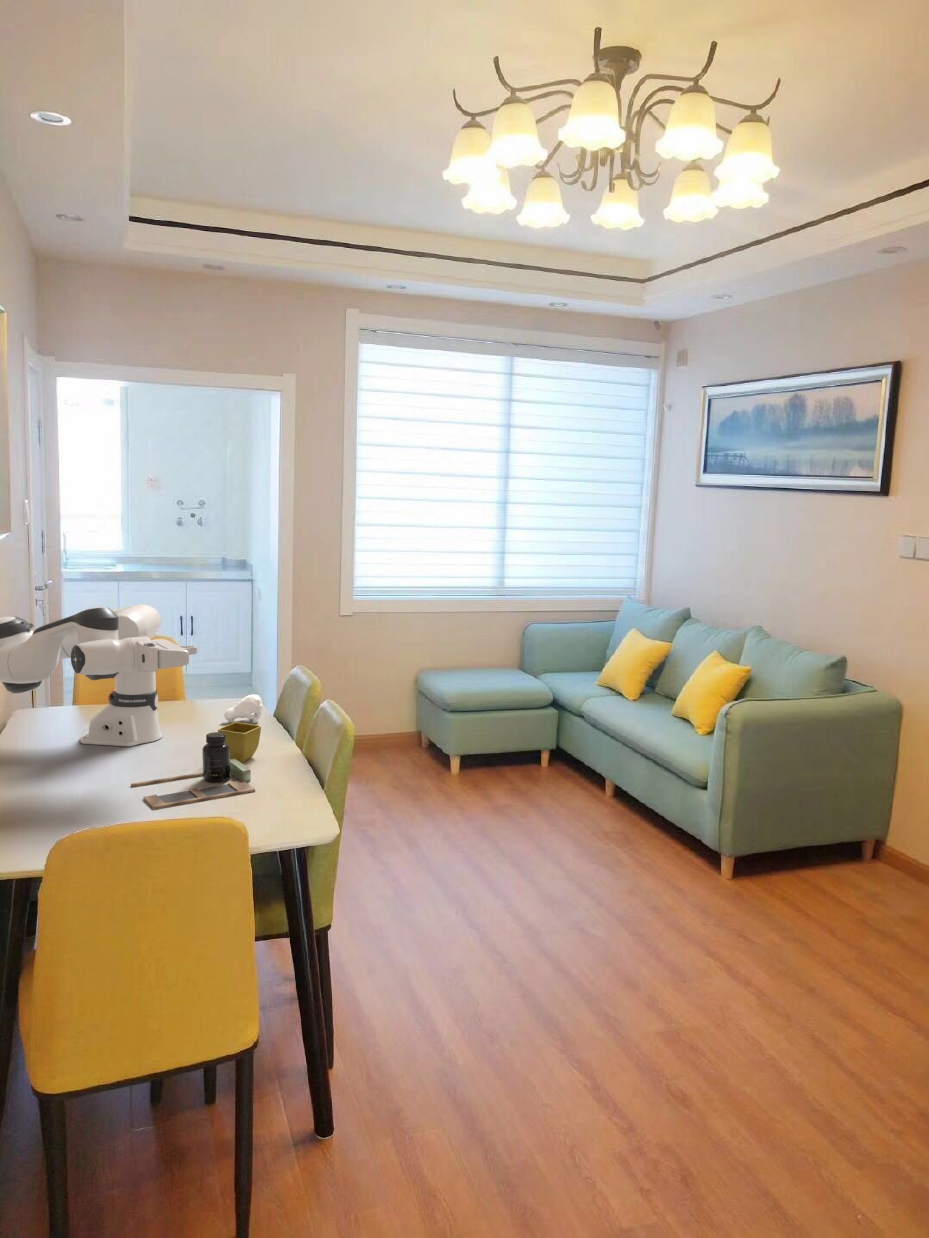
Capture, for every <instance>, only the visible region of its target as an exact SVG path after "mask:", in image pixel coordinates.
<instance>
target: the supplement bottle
mask: <svg viewBox="0 0 929 1238" xmlns="http://www.w3.org/2000/svg"><path fill="white" fill-rule="evenodd" d="M205 738H206V739H205V743H206V744H205V745H203V747H202V772H203V776H202V777H203V779H202V780H203V781H205V782H206V783H209V784H220V783H224V782H225V783H226V782H227V781H229V780H230V778H231V773H230V747H229V745H228V744H227V743H225V742H226V736H225V733H222V732H218V731H215V732H214V731H213V732H209V733H207V734H206V737H205Z"/></svg>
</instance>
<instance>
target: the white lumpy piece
mask: <svg viewBox="0 0 929 1238" xmlns="http://www.w3.org/2000/svg"><path fill="white" fill-rule="evenodd" d="M262 710H263V701H262V699H261V697H260V696H259V695H258V694H249V695H246V696H244V698H242V699H240V700H239V702H237V703H236V705H234V706H233V707H230V708H227V709H226V710H225V711H224V715H223V716H224V719H225V720H226V721H227V722H228V724H231V723H234V722H235V720H236V719H238V718H240V719H245V718H246V719H248V720H252V723H253V724H256V723H257V722H258V721H259V720H260V719H261V716H262ZM230 722H231V723H230Z"/></svg>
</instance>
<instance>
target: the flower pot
mask: <svg viewBox="0 0 929 1238" xmlns="http://www.w3.org/2000/svg"><path fill="white" fill-rule="evenodd" d="M261 730H262V725H257V724H250V723H244V722H237V721H234V722H233V723H232V722H231V723H228V724H227V725H225V726H222V727H220V728H218V729H217V732H222V733H225V736H226V742H225V743H227V744H228V745H229V747H230V759H236V760H238V761H239V762H240V763H242V762H245V761H247V760H249V759H252V757H253V756H254V754H255V753H256V751H257V749H258V747H259V744H260V738H261V732H262V731H261Z"/></svg>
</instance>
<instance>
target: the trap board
mask: <svg viewBox="0 0 929 1238" xmlns="http://www.w3.org/2000/svg"><path fill="white" fill-rule="evenodd" d="M230 774H232V775H233V776H234V777H236V778H237V779H238V780H237V781H231V782H227V784H221V785H216V786H209V787H204V788H198V787H194V788H193V787H192V788H189V789H188V790H186V791H184V790H183V791H179V792H172V793H167V794H161V795H157V794H152V795H146V796H143V800H144V801H145V802H146V803H147V805H148V806H149V807H150V808H152V810H159V809H165V808H168V807H174V806H182V805H187V804H191V803H192V804H193V803H197V802H203V801H210V800H214V799H220V798H226V797H231V796H239V795H243V794H248V793H247V792H250V793H253V791H255V792H256V789H255V787H253V786H252V785H250V784H249V783H248V782H251V781H252V780H251V776H252V775H251V769H250V768H248V766H246V765H244V764H243V763H242V762H240V761H238V760H236V759H230ZM197 777H198V778H199V777H203V771H202V772H196V773H191V774H189V773H188V774H183V775H178V776H171V777H165V778H159V779H158V778H157V779H152V780H145V781H140V782H132V783H130V786H131V788H135V786H136V787H142V786H147V785H154V784H161V783H167V782H173V781H179V780H186V779H191V778H197ZM141 785H142V786H141Z"/></svg>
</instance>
